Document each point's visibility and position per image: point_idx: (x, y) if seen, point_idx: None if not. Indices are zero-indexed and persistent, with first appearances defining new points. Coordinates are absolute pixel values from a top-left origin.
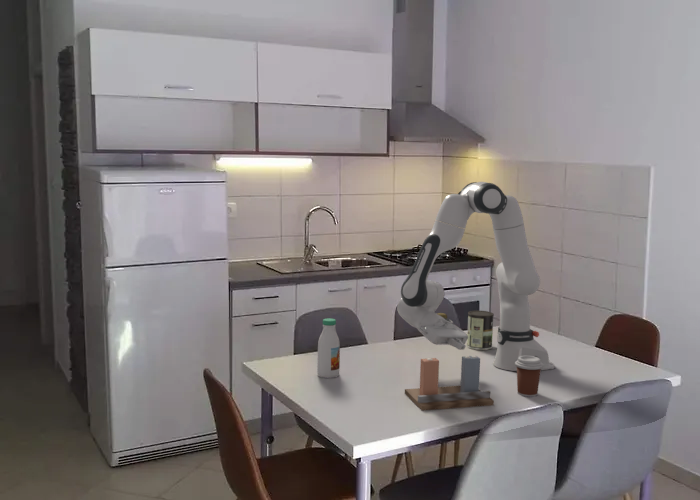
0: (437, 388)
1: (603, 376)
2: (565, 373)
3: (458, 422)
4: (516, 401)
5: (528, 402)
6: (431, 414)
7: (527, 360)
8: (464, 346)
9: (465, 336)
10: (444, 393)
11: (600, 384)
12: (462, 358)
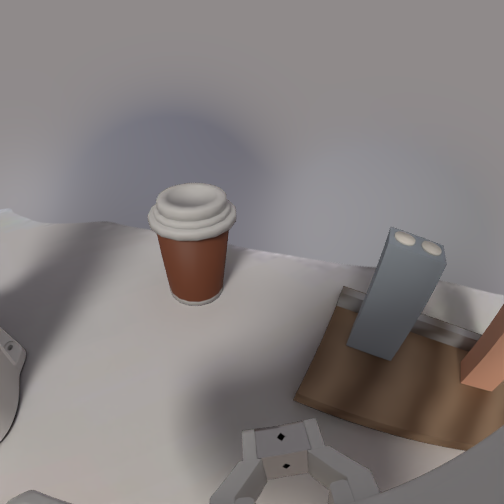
0: (475, 345)
1: (11, 243)
2: (4, 285)
3: (450, 285)
4: (271, 280)
5: (254, 264)
6: (481, 327)
7: (217, 192)
8: (261, 428)
9: (65, 502)
10: (432, 379)
11: (55, 233)
12: (443, 266)
